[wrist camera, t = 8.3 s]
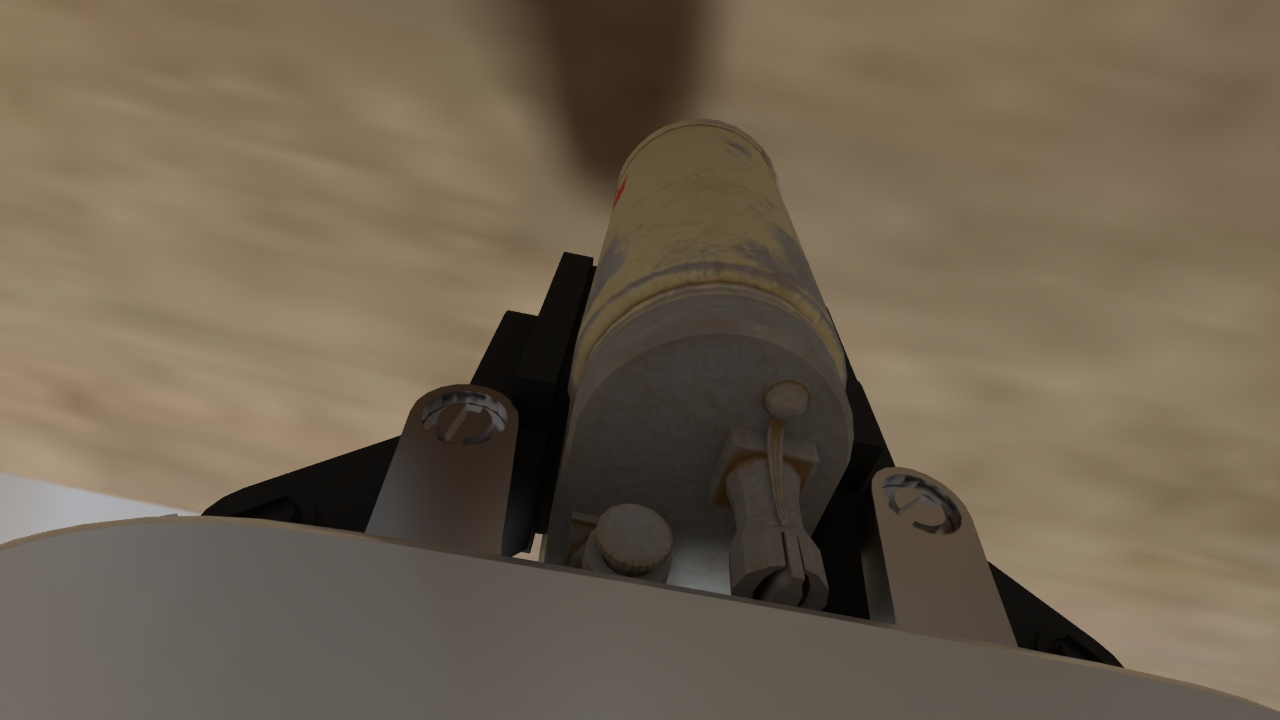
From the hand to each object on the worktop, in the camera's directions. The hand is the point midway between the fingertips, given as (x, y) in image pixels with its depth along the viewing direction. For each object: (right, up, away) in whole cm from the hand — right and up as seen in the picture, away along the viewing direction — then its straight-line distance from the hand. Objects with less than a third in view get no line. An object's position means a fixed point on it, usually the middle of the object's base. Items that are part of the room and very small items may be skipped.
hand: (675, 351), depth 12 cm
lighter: (0, +2, +3) cm, 4 cm away
